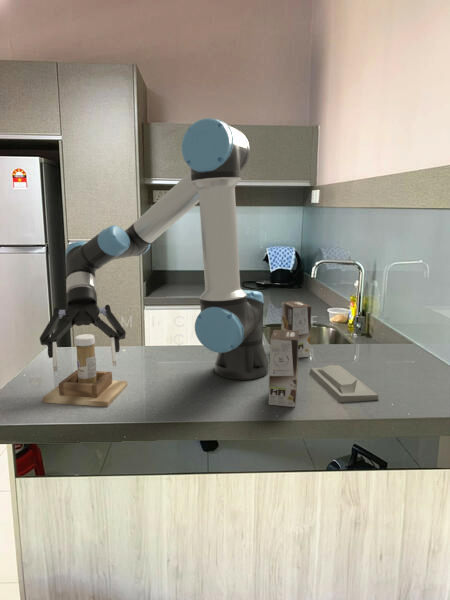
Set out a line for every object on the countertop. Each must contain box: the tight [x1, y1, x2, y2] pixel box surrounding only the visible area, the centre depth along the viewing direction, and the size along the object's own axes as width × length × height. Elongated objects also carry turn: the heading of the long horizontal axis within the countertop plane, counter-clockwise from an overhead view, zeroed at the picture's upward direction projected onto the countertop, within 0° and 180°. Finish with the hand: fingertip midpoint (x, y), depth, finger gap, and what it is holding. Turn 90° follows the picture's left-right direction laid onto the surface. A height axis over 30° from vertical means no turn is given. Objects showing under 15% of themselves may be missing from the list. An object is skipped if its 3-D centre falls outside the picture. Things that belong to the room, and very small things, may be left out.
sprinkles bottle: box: [74, 333, 97, 384], centre depth 112 cm, size 5×5×13 cm
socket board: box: [42, 369, 128, 407], centre depth 113 cm, size 16×13×4 cm
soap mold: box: [309, 364, 379, 404], centre depth 119 cm, size 10×20×4 cm, turn 10°
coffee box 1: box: [280, 300, 312, 359], centre depth 144 cm, size 9×6×16 cm
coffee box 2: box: [268, 329, 299, 408], centre depth 109 cm, size 9×6×16 cm
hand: (85, 366), depth 110 cm, fingers open, 13 cm apart
